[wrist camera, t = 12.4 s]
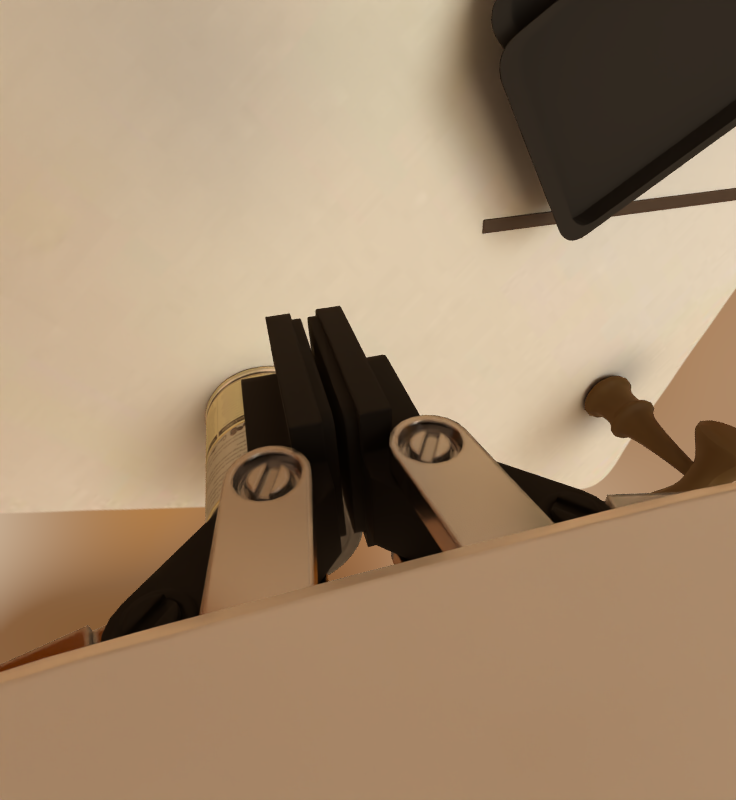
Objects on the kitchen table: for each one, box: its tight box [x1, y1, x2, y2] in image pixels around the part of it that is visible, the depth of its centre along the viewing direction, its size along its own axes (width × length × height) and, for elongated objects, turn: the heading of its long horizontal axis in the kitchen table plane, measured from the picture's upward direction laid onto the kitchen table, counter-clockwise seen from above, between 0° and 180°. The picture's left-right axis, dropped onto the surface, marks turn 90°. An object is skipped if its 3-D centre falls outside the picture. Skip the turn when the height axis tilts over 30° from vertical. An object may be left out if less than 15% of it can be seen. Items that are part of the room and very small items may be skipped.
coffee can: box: [205, 367, 362, 575], centre depth 37 cm, size 10×10×14 cm
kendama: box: [585, 376, 736, 493], centre depth 44 cm, size 6×10×20 cm, turn 164°
